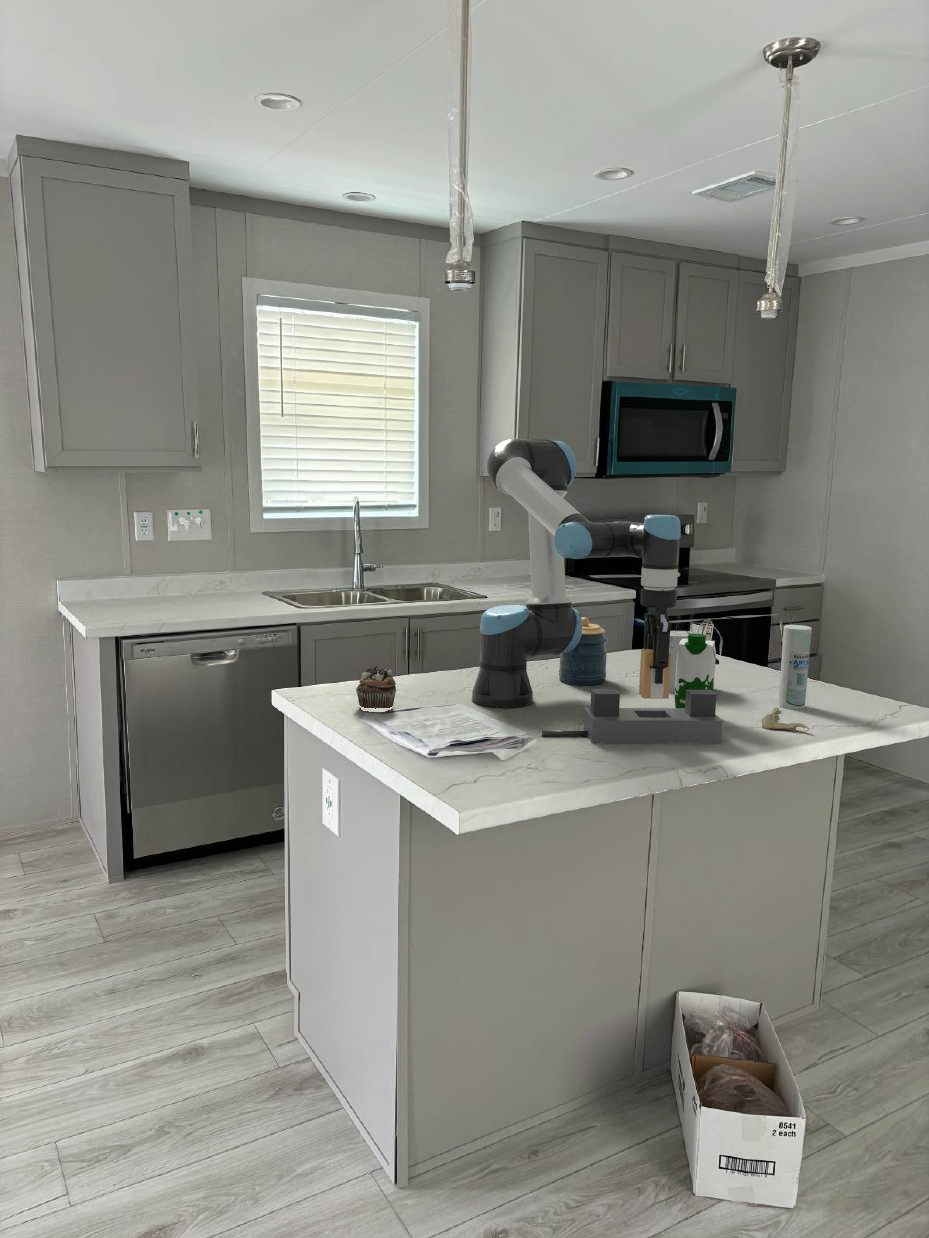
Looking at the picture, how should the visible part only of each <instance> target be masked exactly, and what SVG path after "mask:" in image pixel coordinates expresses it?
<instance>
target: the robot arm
mask: <svg viewBox="0 0 929 1238" xmlns="http://www.w3.org/2000/svg"><path fill="white" fill-rule="evenodd" d="M486 471H487V474H488V477H489V480H490V481H491V483H492V484H493V485H494V487H496V489H497V490H498V491H499V492H501V493H503V495H507V496H508V495H509V496H511V497H512V498H514V499H515V501H516V502H517V503H518V504H520V506H522V507H523V508H524V509H525V510H526V511H527V512H528V513H527V514H528V515H527V516H528V517H527V519H528V537H529V562H530V566H529V567H530V586H531V587H530V588H531V596H530V598H529V599H528V600H527V601H526V603H525V605H521V604H520V605H519V604H510V605H504V604H503V605H497V606H494V607H491V608H488V609H486V610H485V611H484V612H483V613H482V615H481V619H480V624H479V625H480V627H479V633H480V635H479V636H480V640H479V643H480V644H479V645H480V647H479V669H478V670H479V671H478V674H477V676H476V680H475V683H474V685H473V688H472V694H471V699H472V702H474V703H476V704H478V705H481V706H485V707H490V708H491V707H492V708H503V709H504V708H507V709H509V708H518V707H520V708H521V707H526V706H528V705H530V704H532V703H533V701H534V700H533V699H534V698H533V696H534V695H533V694H534V692H533V688H532V685H531V682H530V679H529V675H528V672H527V671H528V670H527V669H528V668H527V666H528V665H527V664H528V662H527V661H528V658H531V657H532V658H533V657H541V656H551V655H552V656H553V655H556V656H560V654H561V653H567V652H570V651H572V650H573V649H574V648H575V647H576V645H577V644H578V643H579V641H580V639H581V635H582V628H583V625H582V619H581V618H582V617H581V616H580V612H579V611H578V609H576V608H575V607H573V602H572V599H571V598H569V597H568V596H567V595H566V576H565V574H566V572H565V570H566V569H565V559H574V560H580V559H591V558H613V557H614V558H616V557H617V558H618V557H633V558H641V559H642V562H641V563H642V564H641V579H640V585H641V586H642V587H643V588H642V589H640V605H641V606H642V607H644V608H648V611H647V612H644V614H643V618H644V629H643V630H644V634H643V649H653V666H650V669H651V684H650V698H663V692H664V673H665V668H666V667H668V660H669V644H670V631H672V626H673V625H672V622H671V621H670V616H669V615H668V609H671V608H675V607H676V606H677V599H678V597H677V596H678V591H677V589H675V588H676V587H678V578H679V577H680V576H681V572H679V558H680V540H681V536H682V535H681V520H680V518H679V517H678V516H677V515H674V514H673V515H671V514H647V515H645V517H644V519H643V522H635V521H629V520H617V521H612V522H609V521H608V522H605V521H604V522H602V521H601V522H592V521H590V520H588V519H587V518H586V517H585V516H583V514H581V512H579V511H578V510H577V509H576V508H575V507H574V506H572V504H570V503H569V502H568V501H567V500H565V497H566V495H567V494H568V487H569V486H570V485H572V483H573V482H574V481H575V477H576V474H577V461H576V456H575V454H574V452H573V449H572V448H570V447H569V445H568V444H567V443H565V442H563V441H560V440H553V439H535V438H534V439H531V438H530V439H529V438H528V439H527V438H526V439H525V438H523V439H522V438H510V439H506V440H503V441H502V442H500V443H498V444H497V445H496V446H495V447H493V449H492V450H491V452H490V454H489V456H488V458H487V463H486Z"/></svg>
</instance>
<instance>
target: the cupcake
mask: <svg viewBox="0 0 929 1238" xmlns="http://www.w3.org/2000/svg"><path fill="white" fill-rule="evenodd" d="M363 671H364V672H362V673H361V678H360V680H359V684H358V685H357V687H356V688H355V691H356V692H355V693H356V695H357V701H358V705H360V706H361V707H364V708H375V709H376V708H390V707H392V706H393V707H394V703H395V697H396V694H397V693H396V692H397V686H396V685H397V684H396V681H395V679H394V677H393V671H392V669H389V668H381V669H379V667H378V666H375V667H373V668H367V669H364V670H363Z"/></svg>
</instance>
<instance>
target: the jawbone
mask: <svg viewBox="0 0 929 1238" xmlns="http://www.w3.org/2000/svg"><path fill="white" fill-rule="evenodd" d="M779 712H780V708H779V707H773V708H772V712H771V713H770V714H767V715H765V716H764V717H763V718H762V719H761V720H760V722H762V723H761V728H763V729H765V730H787V731H790V732H792V733H796V732H797V728H799V727H800V728H803V729H808V730H809V726H808V725H806V724H804V723H801V722H790V723H783V722H778V720H777V719H778V718H779V717H780V715H779Z"/></svg>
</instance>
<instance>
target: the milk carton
mask: <svg viewBox="0 0 929 1238" xmlns="http://www.w3.org/2000/svg"><path fill="white" fill-rule="evenodd" d="M715 642H716V640H707V636H706V635H705V634H703V633H695V634H688V639H682V640H681V641H680V643H679V646H678V651H677V662H676V678H675V692H674V706H675V707H674V708H685V699H686V690H712V691H713V692H714V690H715V689H714V688H715V674H716V672H715V671H716V664H715V659H716V658H717V651H716V645H715ZM714 693H715V692H714Z"/></svg>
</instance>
